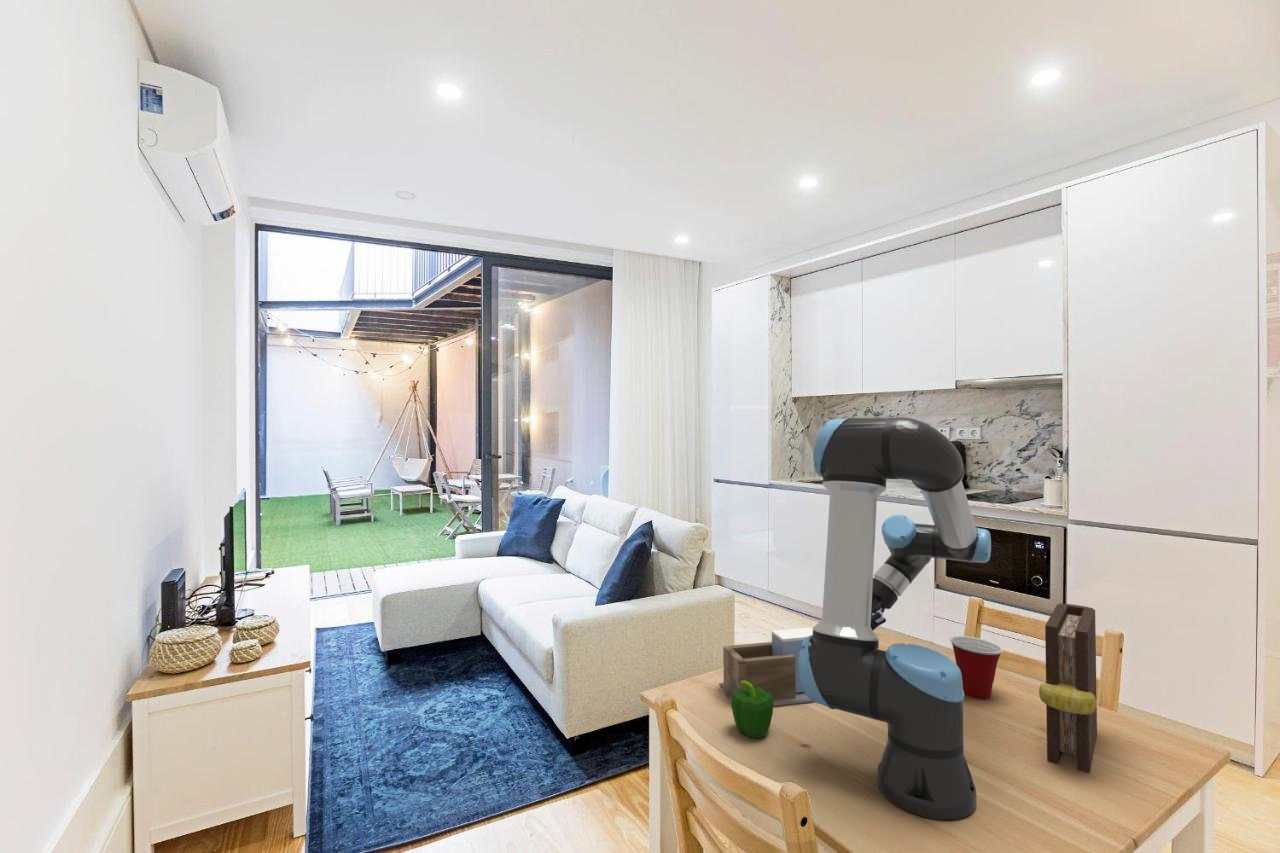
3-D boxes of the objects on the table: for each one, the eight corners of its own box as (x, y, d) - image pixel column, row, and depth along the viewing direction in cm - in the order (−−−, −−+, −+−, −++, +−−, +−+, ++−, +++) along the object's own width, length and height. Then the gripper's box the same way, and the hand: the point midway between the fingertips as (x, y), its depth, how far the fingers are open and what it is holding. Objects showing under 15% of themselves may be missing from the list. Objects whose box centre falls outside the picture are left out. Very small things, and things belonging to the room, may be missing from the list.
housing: (816, 702, 136) (815, 658, 136) (741, 711, 132) (740, 665, 132) (787, 677, 150) (787, 637, 150) (719, 685, 146) (718, 643, 146)
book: (1053, 720, 127) (1051, 601, 127) (1104, 733, 121) (1102, 609, 121) (1037, 765, 110) (1035, 628, 110) (1096, 782, 105) (1093, 638, 105)
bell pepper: (783, 734, 122) (782, 685, 122) (753, 746, 118) (752, 695, 118) (753, 718, 129) (753, 671, 129) (724, 729, 125) (724, 680, 125)
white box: (823, 689, 141) (822, 635, 141) (783, 694, 139) (783, 639, 139) (810, 679, 147) (809, 627, 147) (772, 683, 145) (771, 630, 145)
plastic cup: (1012, 706, 133) (1012, 652, 134) (960, 703, 135) (959, 649, 135) (992, 685, 144) (991, 635, 144) (944, 683, 146) (943, 633, 146)
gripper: (912, 604, 143) (849, 682, 139) (879, 590, 155) (821, 661, 152) (892, 583, 141) (828, 661, 138) (860, 571, 154) (801, 642, 151)
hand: (824, 661), depth 145 cm, fingers closed
